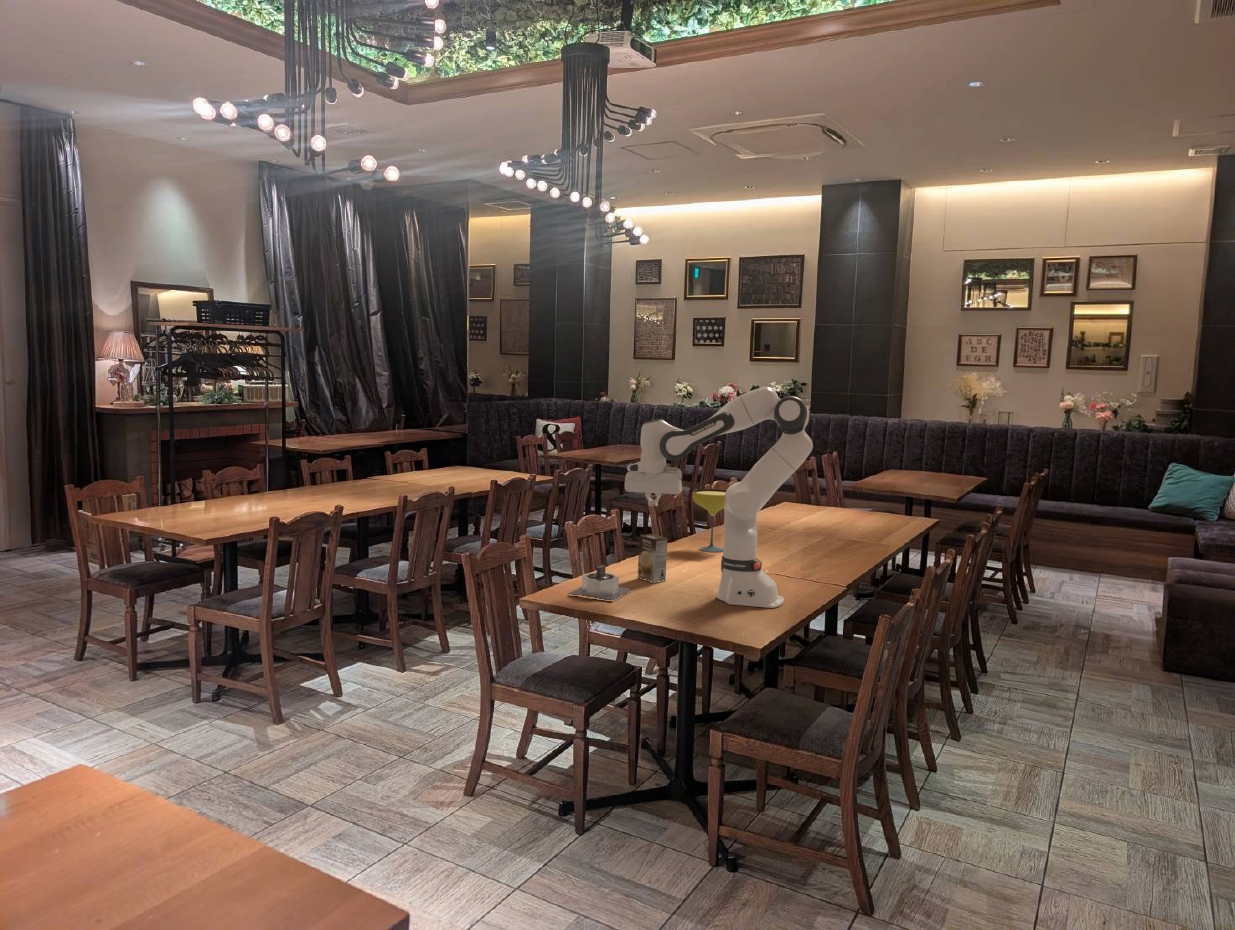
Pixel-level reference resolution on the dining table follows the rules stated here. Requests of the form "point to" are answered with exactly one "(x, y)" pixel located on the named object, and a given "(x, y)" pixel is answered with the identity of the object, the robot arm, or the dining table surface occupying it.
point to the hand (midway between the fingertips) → (653, 505)
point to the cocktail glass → (710, 508)
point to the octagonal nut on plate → (600, 587)
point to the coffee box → (652, 557)
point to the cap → (600, 573)
